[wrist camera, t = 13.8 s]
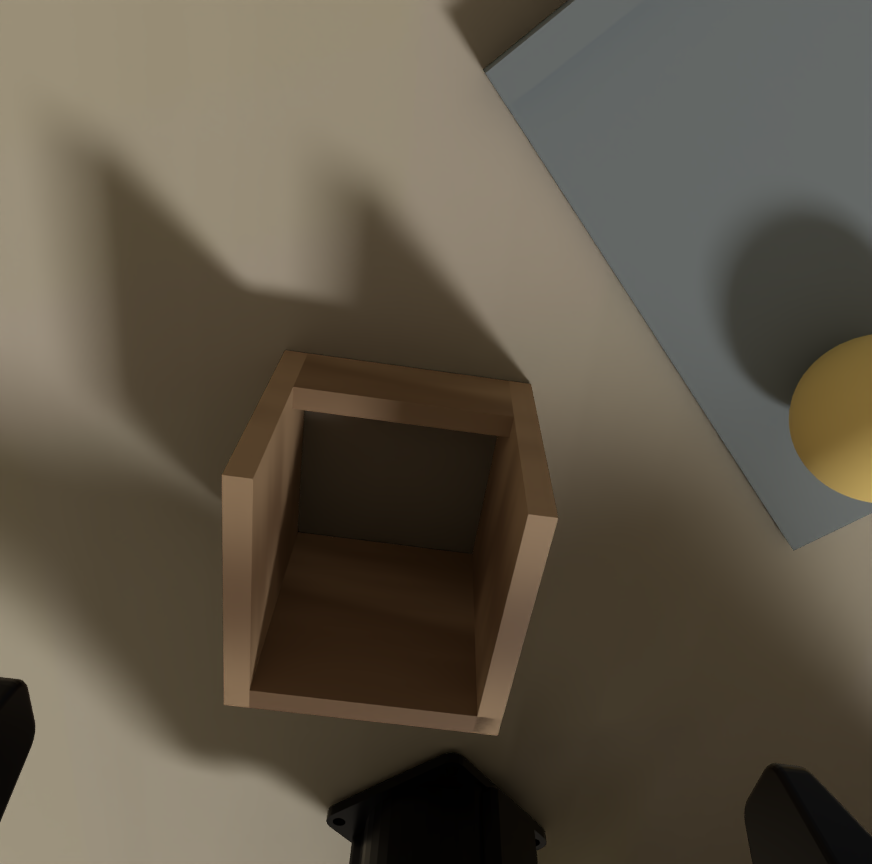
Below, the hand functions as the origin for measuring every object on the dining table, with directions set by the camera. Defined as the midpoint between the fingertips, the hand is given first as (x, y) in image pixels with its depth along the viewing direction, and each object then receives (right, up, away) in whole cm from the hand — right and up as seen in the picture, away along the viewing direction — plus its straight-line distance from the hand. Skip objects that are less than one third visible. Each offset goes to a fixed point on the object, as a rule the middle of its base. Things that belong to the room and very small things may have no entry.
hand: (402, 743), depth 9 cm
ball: (+11, +4, +8) cm, 14 cm away
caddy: (-1, +3, +12) cm, 13 cm away
